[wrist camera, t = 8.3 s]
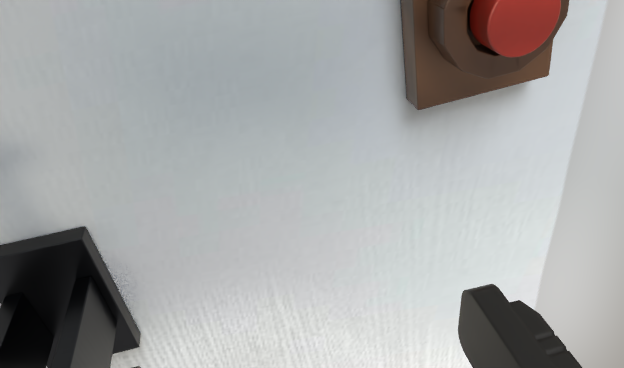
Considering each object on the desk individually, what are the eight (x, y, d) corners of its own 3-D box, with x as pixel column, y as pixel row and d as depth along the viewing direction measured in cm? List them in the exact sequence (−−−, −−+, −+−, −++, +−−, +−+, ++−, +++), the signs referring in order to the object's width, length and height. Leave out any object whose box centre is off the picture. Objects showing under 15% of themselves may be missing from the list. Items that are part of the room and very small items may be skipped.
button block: (394, -95, 22) (425, -90, 19) (551, -130, 23) (604, -131, 20) (406, 99, 28) (431, 125, 25) (531, 66, 28) (570, 87, 26)
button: (469, -22, 21) (489, -14, 20) (542, -39, 22) (566, -33, 20) (467, 54, 24) (485, 66, 22) (534, 37, 24) (556, 48, 22)
